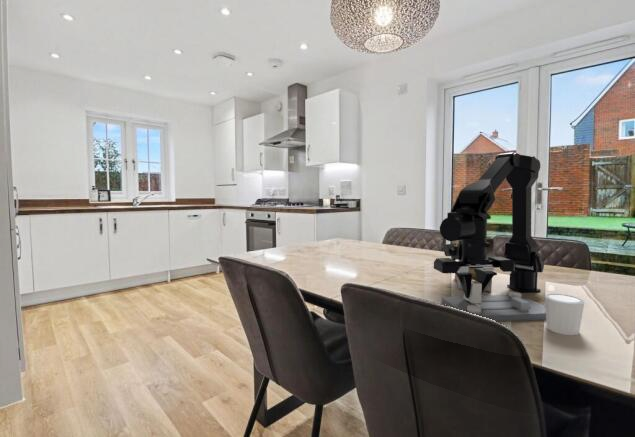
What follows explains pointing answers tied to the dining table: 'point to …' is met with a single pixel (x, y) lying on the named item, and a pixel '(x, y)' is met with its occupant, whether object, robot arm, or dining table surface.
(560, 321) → the white cup
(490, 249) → the coffee box
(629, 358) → the dining table surface
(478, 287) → the fader
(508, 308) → the console
